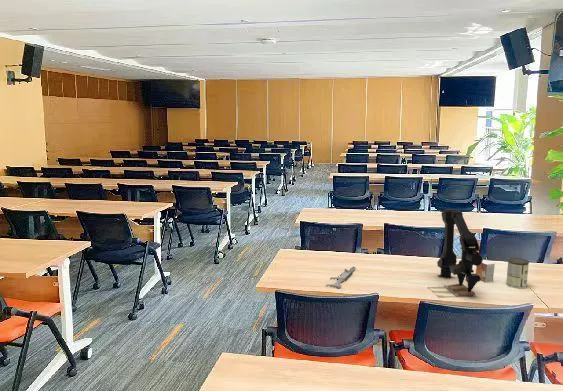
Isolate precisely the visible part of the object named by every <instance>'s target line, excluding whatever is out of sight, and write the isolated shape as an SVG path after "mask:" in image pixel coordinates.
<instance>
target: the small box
mask: <svg viewBox="0 0 563 391" xmlns="http://www.w3.org/2000/svg"><path fill="white" fill-rule="evenodd" d="M495 265H496V263H495V262H491V261H489V260H486V259H483V261H482V263H481V264H480V265H478V266H475V267H476V268H475V269H476V270H475V273H476V274H477V275H479V276H480V277H481V278H480V282H483V283H492V282H494V275H495Z"/></svg>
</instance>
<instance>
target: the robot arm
mask: <svg viewBox="0 0 563 391" xmlns="http://www.w3.org/2000/svg"><path fill="white" fill-rule="evenodd" d="M441 220H442V222H443V224H444V242H443V243H444V244H443V245H444V246H443V247H444V248H443V251H442V252H441V254H440V258H439V259H438V260H437V261H436V263H437V264H436V265H437V267H438V268H440V272H439V273H440V274H437V276H438V277H439V278H444V279H451V278H452V275H453V276H457V280H458V284H459V285H460V286H461V285H462V284H463V285H464V281H466V282H467V287H468V292H471V290H472V291H473V288H474V287H475V286H476V284H477V283H479V282H481V280H480V278H481V277H480V276H479V275H477V274H476V272H475V270H474V269H473V267H474V266H475V267H476V266H478V265H480V264H481V263H482V261H483V260H484V259H483V257H482V255H481V254H480V245H479V243H478V239H477V238H476V236H475V234H474V233H473V232H472V231H470V228H469V227H468V225H467V223H466V221H465V218H464V213H463V212H462V211H461V210H457V209H455V208H451V209H450V208H444V209H443V210H442V211H441ZM455 227H456V228H457V231H458V233H459V245H460V246H461V247H460V250H461V256H460V257H461V259H460V260H458V262H457V255H456V253H455V252H454V240H455V239H454V238H455V237H454V236H455ZM474 272H475V273H474Z"/></svg>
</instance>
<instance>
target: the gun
mask: <svg viewBox="0 0 563 391" xmlns="http://www.w3.org/2000/svg"><path fill="white" fill-rule="evenodd" d="M356 268H357V267H356V266H351V267H350V268H349V270H348V269H347V268H344V270H343V272H342V273H341V274H340V275H338V276H331V277H330V278H329V280H332V279H338V280H336V281H335V283H326V285H325V286H330V287H329V288H335V287H336V289H341V288H342V286H343V284H341V283H344V282H343V281H345V282H346V281H347V280H348V279H349V278H350V277H351V276H352V275H353V274H354V273H353V272H354V271H355V270H356ZM339 276H340V277H339Z"/></svg>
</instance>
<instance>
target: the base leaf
mask: <svg viewBox="0 0 563 391" xmlns="http://www.w3.org/2000/svg"><path fill="white" fill-rule="evenodd" d="M448 286H449V285H444V286H428V287H427V289H428V290H430V291H431V292H432V293H433V294H434V295H435V296H436V297H438V299H439V298H460V296H459V295H458V294H457V293H455V292H454V293H453V294H452V293H451V292H450V291H448V290H447V289H448V288H449V287H448Z"/></svg>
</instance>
